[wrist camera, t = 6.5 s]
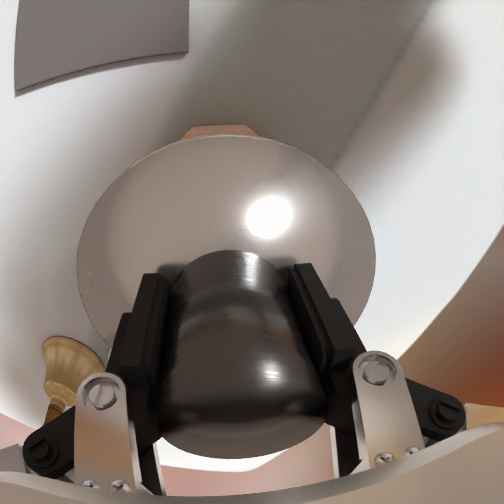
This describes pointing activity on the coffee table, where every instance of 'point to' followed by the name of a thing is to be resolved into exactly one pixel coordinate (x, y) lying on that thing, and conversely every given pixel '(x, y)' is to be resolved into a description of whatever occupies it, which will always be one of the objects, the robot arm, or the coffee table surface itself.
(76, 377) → the hand bell
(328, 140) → the coffee table surface
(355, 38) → the coffee table surface
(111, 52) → the mat
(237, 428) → the lid
